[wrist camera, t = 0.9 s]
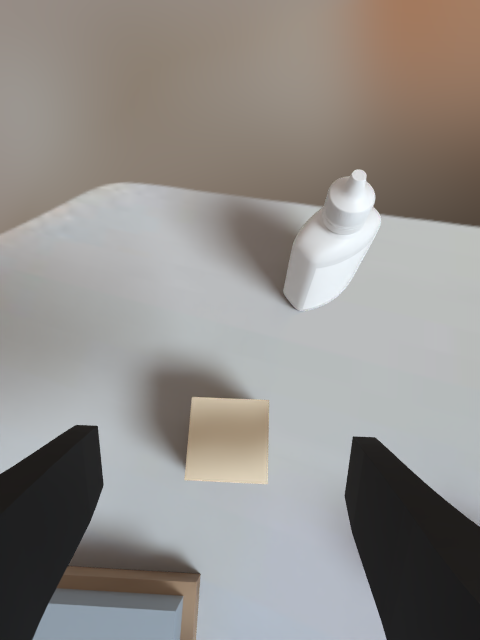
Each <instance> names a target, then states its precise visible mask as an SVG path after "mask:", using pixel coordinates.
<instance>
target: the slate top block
mask: <svg viewBox="0 0 480 640" xmlns="http://www.w3.org/2000/svg"><path fill="white" fill-rule="evenodd" d="M182 609H183V596H178V595H161V594H145V593H128V592H111V591H95V590H78V589H61V588H56V590H55V592H54V594H53V596H52V598H51V600H50V602H49V604H48V606H47V608H46V610H45V612H44V614H43V616H42V619H41V621H40V623H39V625H38V628H37V630H36V632H35V635H34V637H33V640H180V633H181V621H182Z"/></svg>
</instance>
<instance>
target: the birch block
mask: <svg viewBox="0 0 480 640" xmlns="http://www.w3.org/2000/svg"><path fill="white" fill-rule="evenodd" d="M268 432H269V400H255V399H231V398H207V397H192V401H191V412H190V424H189V435H188V446H187V458H186V469H185V480H192V481H213V482H233V483H254V484H268Z"/></svg>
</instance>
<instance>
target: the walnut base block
mask: <svg viewBox="0 0 480 640" xmlns="http://www.w3.org/2000/svg"><path fill="white" fill-rule="evenodd" d="M199 587H200V574H196V573H179V572H162V571H144V570H127V569H110V568H92V567H75V566H68V567H67V568H66V570H65V572H64V574H63V576H62V578H61V580H60V582H59V584H58V586H57V588H61V589H78V590H95V591H111V592H128V593H145V594H161V595H178V596H183V609H182V621H181V633H180V640H196V630H197V616H198V601H199Z"/></svg>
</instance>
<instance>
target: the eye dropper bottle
mask: <svg viewBox="0 0 480 640" xmlns="http://www.w3.org/2000/svg"><path fill="white" fill-rule="evenodd" d="M374 202H375V192H374V190H373V188H372V187H371V185H370V184H369V183H368V182H366V173H365V172H364V171H363V170H355V171H354V172H353V173H352V174H351V176H347V177H342V178H340V179H338V180H336V181H334V182H333V184H332V185H331V186H330V188H329V191H328V195H327V198H326V201H325V205H324V207H323V208H322V209H320V210H319V211H318V212H316V213H315V214H314V215H313V216H312V217H311V218H310V219H309V220H308V221H307V222H306V223H305V224H304V225H303V227H302V228H301V229H300V231H299V233H298V234H297V236H296V238H295V240H294V242H293V246H292V250H291V255H290V259H289V264H288V269H287V274H286V279H285V284H284V289H283V293H284V295H285V296H286V298H287V299H288V300H289V302H290V303H291V304H292V305H293V306H294V307H295V308H296V309H297V310H298V311H308V310H312V309H315V308H318V307H321V306H323V305H325V304H327V303H329V302H330V301H332V300H333V299H335V298H336V297H337V296H338V295H340V294H341V293H342V292H343V290H344V289H345V288H346V287H347V286H348V284H349V283H350V281H351V280H352V278H353V276H354V274H355V273H356V271H357V269H358V267H359V265H360V263H361V262H362V260H363V258H364V256H365V254H366V252H367V251H368V249H369V247H370V245H371V243H372V241H373V239H374V237H375V235H376V233H377V231H378V229H379V227H380V224H381V217H380V215H379V213H378V212H377V211H376V209H375V208H374V207H373V204H374Z"/></svg>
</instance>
